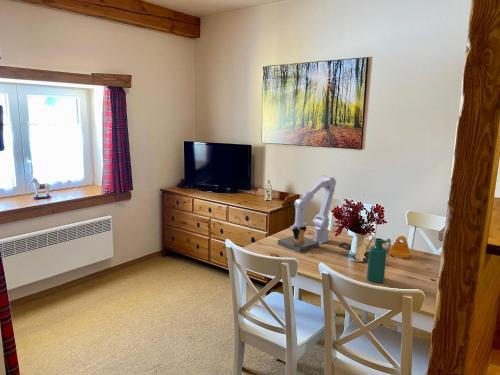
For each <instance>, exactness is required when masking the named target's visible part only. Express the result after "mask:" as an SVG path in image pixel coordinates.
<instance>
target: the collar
mask: <svg viewBox="0 0 500 375" xmlns="http://www.w3.org/2000/svg"><path fill="white" fill-rule="evenodd" d="M277 245H278V246H281V247H283V248H285V249H288V250H291V251H294V252H295V253H304V252H307V251H310V250H313V249H316V248H319V247H320V244H319V242H317V241H314V240H313V239H311V238H309V237H305V236H304V242H302V243H297V242H294V235H292V236H287V237H283V238H281V239H277Z"/></svg>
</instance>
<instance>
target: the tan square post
mask: <svg viewBox="0 0 500 375" xmlns="http://www.w3.org/2000/svg"><path fill="white" fill-rule="evenodd" d="M298 229H299V228H298ZM299 230H300V231H299V234H298V239H295V238H294V242H297V243H302V242H304V237H305V232H304V230H301V229H299Z"/></svg>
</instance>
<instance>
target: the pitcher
mask: <svg viewBox="0 0 500 375" xmlns="http://www.w3.org/2000/svg"><path fill="white" fill-rule="evenodd" d="M373 241H374V245H370V247H369V250H368V252H369V257H368V263H367V270H366V280H367V281H368V282H372V283H377V284H383V283H384V282H385V275H386V274H385V272H386V264H387V255H388V254H387V252H388V251H390V247H391V243H392V242H391V238H387V239H385V240H384V239H383V238H381V237H380V238H379V237H377V238H373ZM383 244H388V245H387V247H384V246H383Z"/></svg>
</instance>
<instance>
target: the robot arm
mask: <svg viewBox="0 0 500 375" xmlns="http://www.w3.org/2000/svg"><path fill="white" fill-rule="evenodd" d="M336 184H337V181H336V178H334V177H332V176H331V177H330V176H327V175H321V176H320V177H319V178H318V179H317V182H316V183H315V184H314V185H313V187H312V188H311V189H310V190H307V191H305V192H304V193H303V195H301V196H300V198H297V199H296V200H295V201H294V202H293V206H294V208H295V217H294V218H295V219H294V223H293V225H290V230H291V231H292V233H293V236H294V238H295V239H298V234H299V231H300V230H299V229H301V230H304V233H306V232H307V231H306V230H307V229H308V228H307V227H308V225H309V223H308V222H305V214H306V212H305V211H306V208H307V206H308V204H309V202H311V201H312V200H313V198H314V197H315V196H314V195H315V194H317V193H318V191H320V190H321V189H322V188H323V189H324V190H325V191H324V195H323V199H322V203H321V205H320V209H319V213H317V214H315V217H314V218H313V219H312V225H313V226H314V227H313V228H314V234H313V235H314V238H313V239H312V240H314V241H317V242H319V245H322V244H325V243H327V242H330V240H329V229H328V228H329V224H330V223H329V222H330V218H329V217H328V215H329V210H330V207H331V204H332V201H333V197H334V193H335V188H336Z"/></svg>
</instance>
